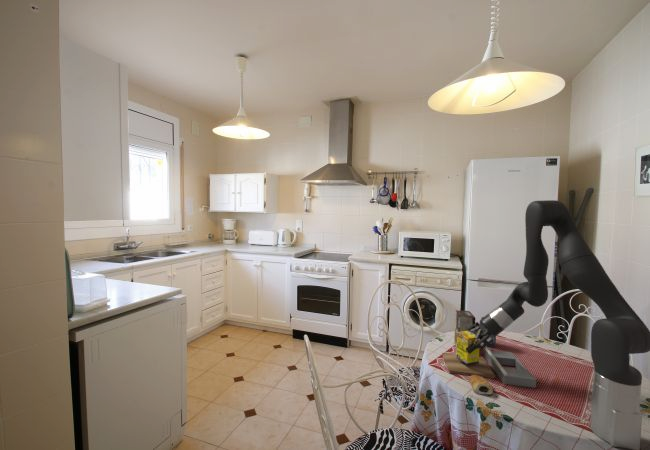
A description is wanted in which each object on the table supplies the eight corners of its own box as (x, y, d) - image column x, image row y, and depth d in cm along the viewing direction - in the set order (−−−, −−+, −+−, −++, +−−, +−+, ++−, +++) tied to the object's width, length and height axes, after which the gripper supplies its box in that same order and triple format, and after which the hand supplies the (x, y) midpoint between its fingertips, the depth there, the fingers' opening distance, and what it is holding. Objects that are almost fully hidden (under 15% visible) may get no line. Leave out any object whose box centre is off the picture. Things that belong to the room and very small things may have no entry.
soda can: (482, 339, 140) (483, 315, 139) (497, 344, 135) (499, 319, 134) (476, 343, 136) (477, 318, 135) (492, 349, 130) (493, 323, 130)
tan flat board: (495, 378, 107) (495, 375, 107) (449, 372, 110) (449, 370, 110) (482, 359, 121) (482, 357, 121) (442, 355, 124) (442, 352, 124)
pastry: (465, 378, 107) (466, 368, 107) (485, 380, 106) (485, 370, 106) (473, 394, 98) (474, 383, 98) (495, 397, 97) (495, 386, 96)
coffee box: (474, 353, 125) (476, 317, 125) (458, 352, 127) (460, 316, 126) (468, 344, 134) (469, 310, 134) (453, 342, 136) (455, 309, 135)
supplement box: (455, 358, 117) (456, 332, 117) (467, 356, 119) (468, 330, 119) (467, 365, 112) (468, 338, 111) (479, 363, 113) (480, 336, 113)
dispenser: (535, 387, 102) (536, 376, 102) (503, 383, 104) (503, 372, 104) (511, 359, 121) (511, 349, 121) (484, 356, 123) (484, 346, 123)
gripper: (483, 307, 120) (453, 332, 123) (496, 320, 106) (462, 347, 109) (496, 321, 119) (466, 345, 122) (512, 335, 105) (476, 362, 108)
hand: (464, 346), depth 115 cm, fingers closed on supplement box, 8 cm apart
